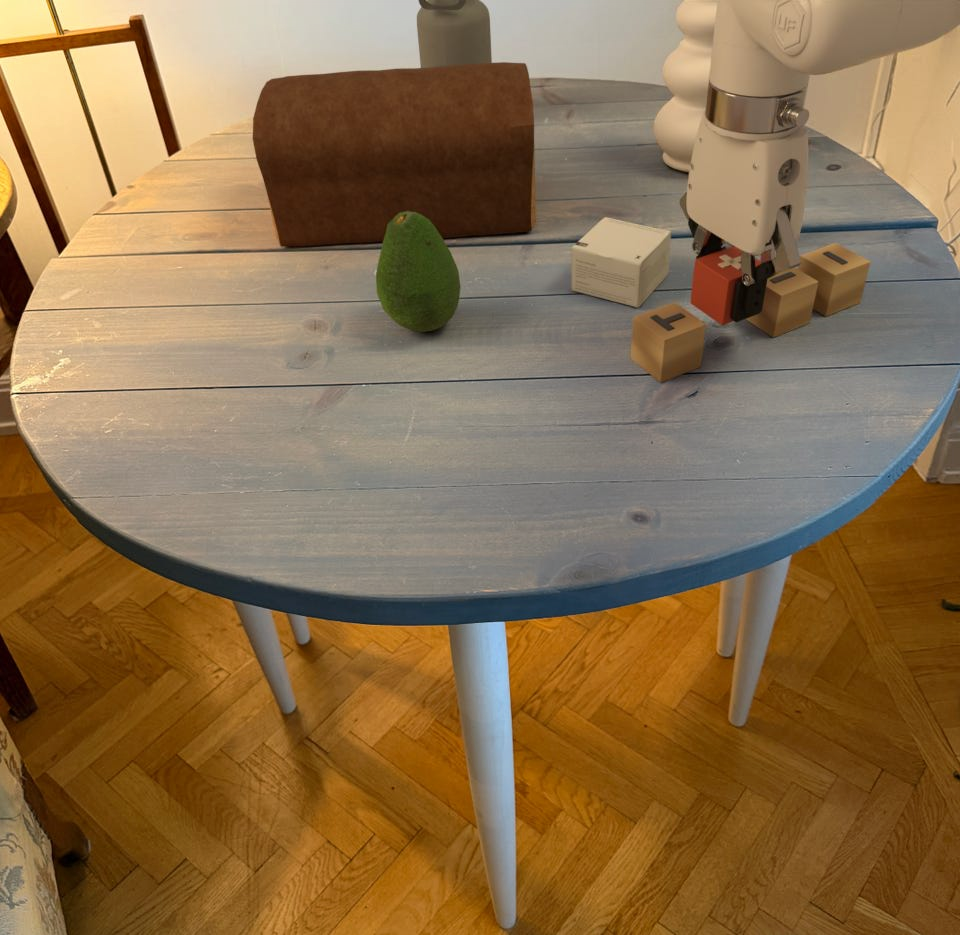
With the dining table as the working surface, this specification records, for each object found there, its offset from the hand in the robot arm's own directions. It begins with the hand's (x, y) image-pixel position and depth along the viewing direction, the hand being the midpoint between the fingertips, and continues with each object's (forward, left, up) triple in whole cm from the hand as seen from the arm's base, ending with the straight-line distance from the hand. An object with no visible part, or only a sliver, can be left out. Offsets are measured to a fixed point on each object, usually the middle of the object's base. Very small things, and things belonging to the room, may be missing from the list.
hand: (726, 301), depth 85 cm
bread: (+42, +13, -4) cm, 44 cm away
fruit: (+18, +23, -4) cm, 29 cm away
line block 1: (0, -7, -4) cm, 8 cm away
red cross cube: (0, 0, -1) cm, 1 cm away
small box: (+14, +2, -4) cm, 15 cm away
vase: (+33, -23, -4) cm, 41 cm away
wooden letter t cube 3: (0, +7, -4) cm, 8 cm away
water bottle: (+63, -5, -4) cm, 63 cm away
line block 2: (0, -13, -4) cm, 14 cm away
